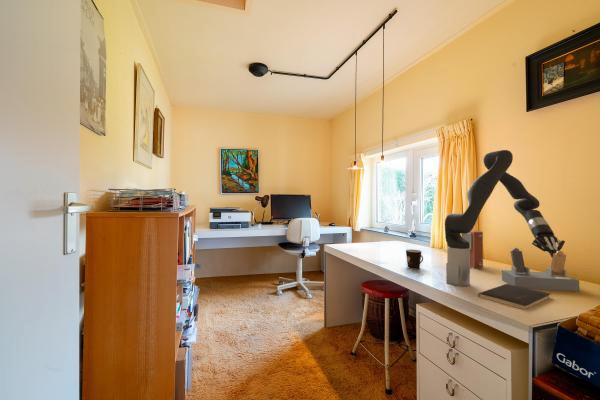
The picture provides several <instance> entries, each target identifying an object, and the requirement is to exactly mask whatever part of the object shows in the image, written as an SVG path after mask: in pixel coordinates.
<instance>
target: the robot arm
mask: <svg viewBox="0 0 600 400" xmlns="http://www.w3.org/2000/svg"><path fill="white" fill-rule="evenodd" d="M513 157H514V155H513V153H512V151H510V150H507V149H500V150H496V151H491V152H488V153H486V154H485V155H484V157H483V159H482V160H483V165H484V167H485V168H486V169H487V171H486V172H484V173H482V174H481V175H479V176H478V177H477V178H476V179H475V180H474V181H473V182H472V184H471V185H470V186H469V189H468V190H467V193H466V195H467V201H468V206H467V208H466V210H465V211H464V212H463V213H456V212H455V213H452V212H451V213H449V214H447V216H446V217H445V219H444V235H445V241H446V247H447V248H446V249H447V253H446V258H447V259H446V260H447V262H446V265H445V267H446V269H445V270H446V272H445V274H446V277H445V279H446V283H447V284H450V285H454V286H457V287H467V286H470V284H471V280H470V279H471V276H470V275H471V274H470V273H471V272H470V271H471V269H470V268H471V267H470V244H469V242H468V241H467V240H465V239H463V238H462V237H461V233H463V234H466V233H469V232H470V231H471V230H474V227H475V225H476V223H477V221H478V219H479V216H480V213H481V212H482V210H483V208H484V206H485V204H486V203H487V201H488V199H489V198H490V196H491V194H492V193H493V191H494V190H495V188H496V186H497V185H498V183H499V182H500V183H501V184H502V185H503V186H504V188H505V189H506V190H507V193H509V195H510V196H511V198H512V199H513V200H515V201H514V203H513V207H514V209H515V210H516V212H518V213H519V214H520V215H522V217H523V218H524V220H525V221H526V223H527V225H528V227H529V230H530V232H531V234H532V236H533V237H534V240H533V241H532V242H531V245H533V246H535V247H536V248H538V249H539V250H541V251H543V252H547V253H548V254H549V255H550V256H551V258H553V253H556V252H557V251H562V248H563V246H564V245H565V243H566V241H565V240H560V239H558V237H557V236H555V232H554V230H552V228H551V226H550V225H549V223H548V221H546V218H544V216H543V214H542V212H541V211H540V210H538V209H539V207H540V204H541V203H540V200H538V199H537V197H536V196H533V195H532V194H531V193H530V192H529V191H528V190H527V188H526V187H525V186H524V184H523V183H522V181H520V179H518V178H516V177H515V176H513V175H511V174H510V173H508V172H507V171H508V169H509V168H510V167H511V165H512V163H513V161H514V158H513Z"/></svg>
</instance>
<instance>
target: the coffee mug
mask: <svg viewBox="0 0 600 400" xmlns="http://www.w3.org/2000/svg"><path fill="white" fill-rule="evenodd" d="M405 257H406V262H407V268H408V267H409V268H408V269H410V268H413V269H412V270H420V268H421V264H422V262H423V261H424V256H423V255H422V250H420V249H405Z"/></svg>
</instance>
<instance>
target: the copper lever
mask: <svg viewBox="0 0 600 400" xmlns="http://www.w3.org/2000/svg"><path fill="white" fill-rule="evenodd" d="M551 258H552V257H551ZM566 260H567V254H565V253H564V252H563V251H562V250H560V251H557V252H556V253H553V258H552V260H551V265H550V269H552V275H561V276H563V271H564V269H565V265H566Z"/></svg>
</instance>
